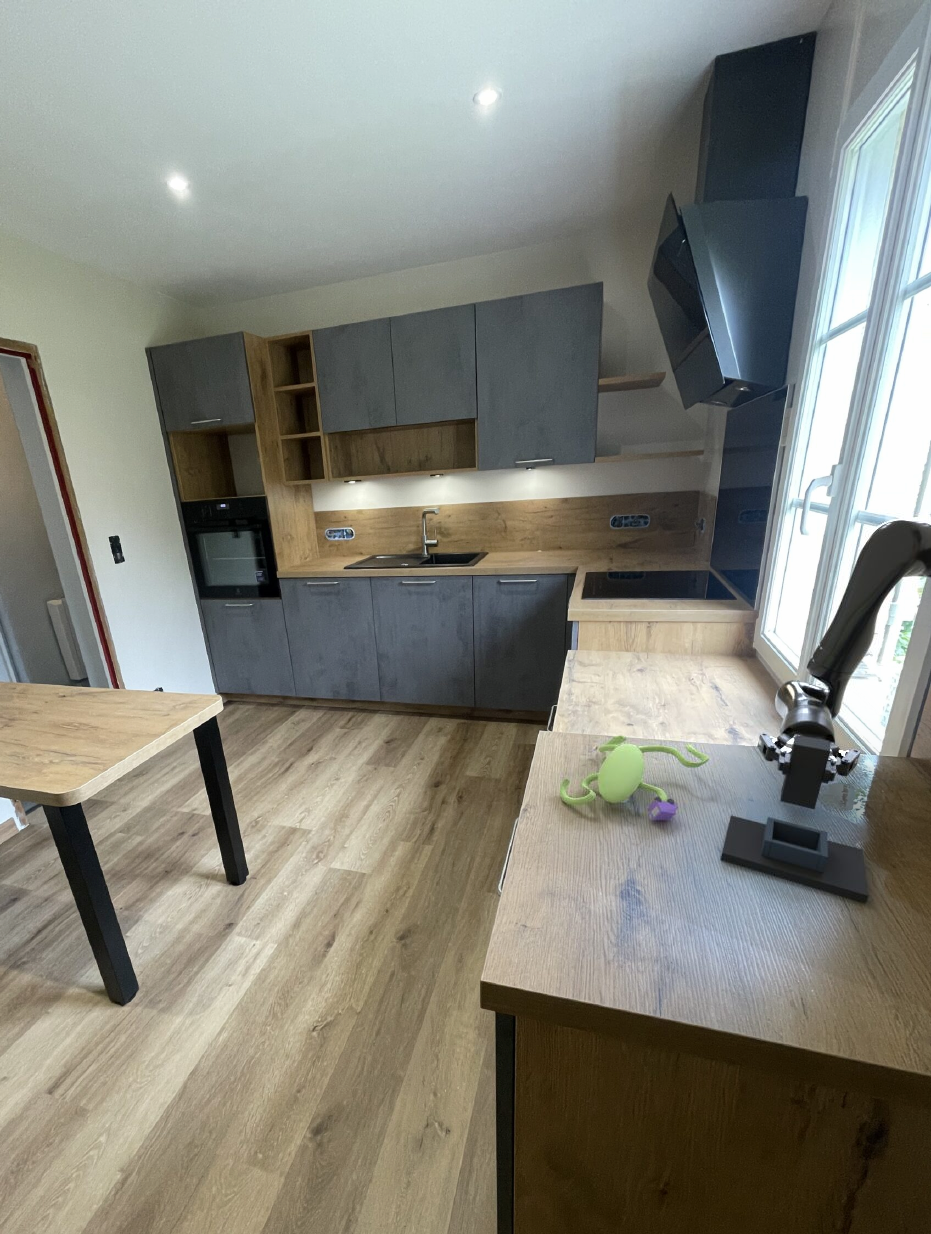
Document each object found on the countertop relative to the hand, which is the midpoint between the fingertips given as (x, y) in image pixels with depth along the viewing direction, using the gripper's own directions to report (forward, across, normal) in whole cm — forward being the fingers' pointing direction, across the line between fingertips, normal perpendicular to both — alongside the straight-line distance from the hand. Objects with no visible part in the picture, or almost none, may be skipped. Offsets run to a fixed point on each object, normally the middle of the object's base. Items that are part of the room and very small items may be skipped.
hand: (806, 773), depth 83 cm
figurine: (+2, -24, +8) cm, 25 cm away
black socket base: (+11, 0, +8) cm, 14 cm away
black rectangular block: (-3, 0, +6) cm, 7 cm away
